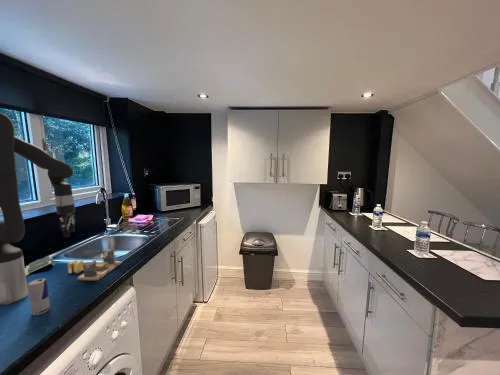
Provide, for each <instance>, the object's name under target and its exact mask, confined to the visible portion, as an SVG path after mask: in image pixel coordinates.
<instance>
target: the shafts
mask: <svg viewBox="0 0 500 375" xmlns="http://www.w3.org/2000/svg"><path fill="white" fill-rule="evenodd" d="M106 249H107V251H109V250H111V249H112V248H106ZM107 256H108V252H105V253H104V254H103V253H102V256H101V257H102V259H103V258H106V257H107ZM91 262H96V263H97V261H96V260H92V261H91ZM85 268H86V269H89V265H86V266H85Z"/></svg>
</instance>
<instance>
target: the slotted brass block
mask: <svg viewBox="0 0 500 375" xmlns="http://www.w3.org/2000/svg"><path fill="white" fill-rule="evenodd" d="M83 265H84V260H72V261H70V262H69V263H67V271H68V274H80V273H81V272H84V270H83Z"/></svg>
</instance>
